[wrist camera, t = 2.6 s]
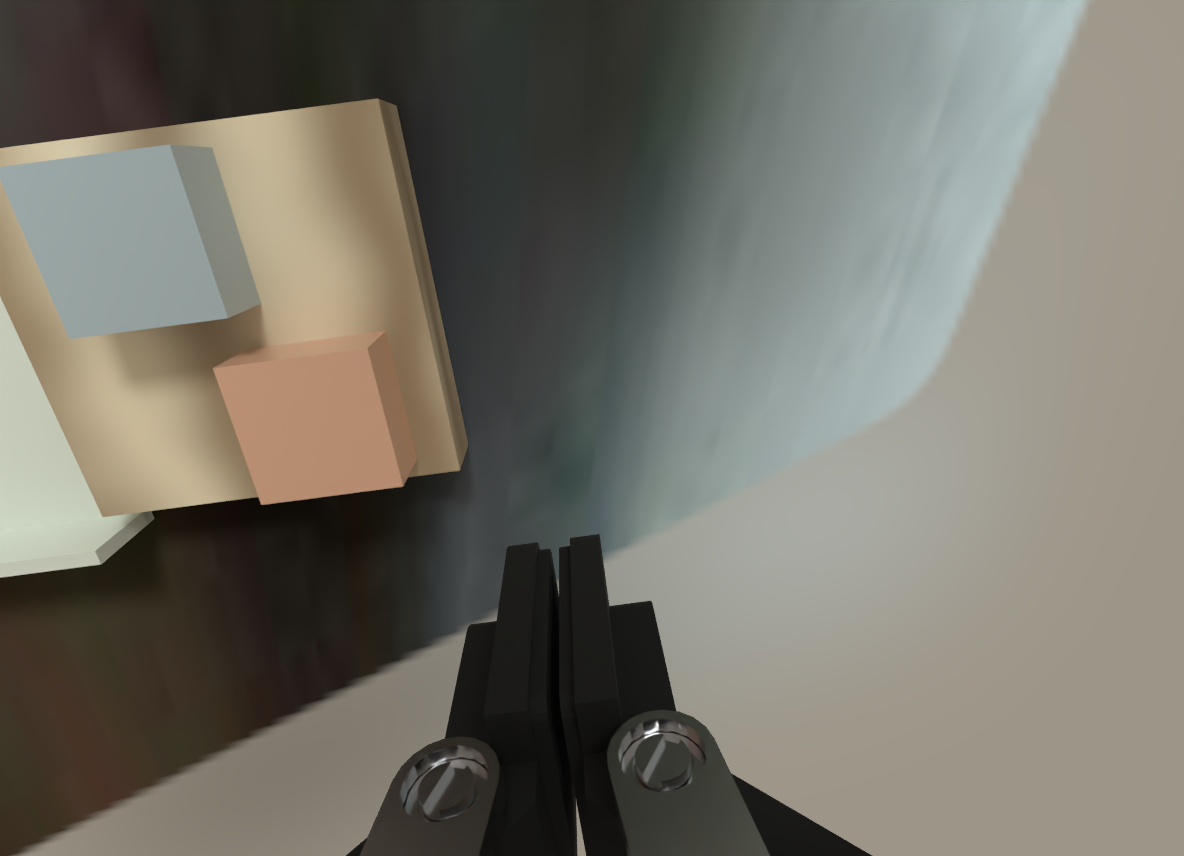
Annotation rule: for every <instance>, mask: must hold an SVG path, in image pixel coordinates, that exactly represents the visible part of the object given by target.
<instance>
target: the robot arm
mask: <svg viewBox="0 0 1184 856" xmlns="http://www.w3.org/2000/svg"><path fill="white" fill-rule="evenodd" d="M576 801H577V807H578V812H579V818H580V823H581V828H582V834H583V840H584V845H585V851H586V856H872V855H870V854H868V853H866V852H865V851H863V850H861V849H860V848H858V847H856V846H854V845H853V844H851V843H849V842H848V841H846V840H844V839H842V838H841V837H839V836H837V835H836V834H834V833H832V832H830V831H829V830H827V829H825V828H824V827H822V826H820V825H819V824H817V823H815V822H813V821H812V820H810V819H808V818H807V817H805V816H803V815H801V814H800V813H798V812H796V811H795V810H793V809H791V808H789V807H787V806H786V805H784V804H783V803H780V802H779V801H777V800H776V799H774V798H772V797H771V796H769V795H767V794H765V793H764V792H762V791H760V790H759V789H757V788H755V787H754V786H752V785H750V784H748V783H747V782H745V781H743V780H742V779H740V778H738V777H736V776H735V775H733V774H731V773H730V770H729V769H728V766H727V764H726V762H725V760H724V758H723V756H722V754H721V752H720V749H719V748H718V745H717V743H716V741H715V739H714V737H713V736H712V735H711V734H710V732H709V730H708V729H707V728H706V727H705V726H704V725H703V724H702V723H700V722H699V721H698V720H696V719H695V718H694V717H691V716H689V715H686V714H684V713H681V712H677V711H676V708H675V704H674V699H673V695H672V690H671V686H670V681H669V677H668V672H667V667H666V663H665V658H664V654H663V649H662V645H661V640H660V636H659V632H658V627H657V622H656V618H655V614H654V609H653V605H652V602H651V601H646V602H638V603H631V604H623V605H615V606H609V601H608V594H607V586H606V579H605V571H604V564H603V557H602V549H601V542H600V535H599V534H597V535H590V536H582V537H575V538H570V546H567V547H560V548H559V594H558V588H557V582H556V576H555V570H554V565H553V559H552V553H551V550H550V549H544V550H540V547H539V544H538V542H537V543H529V544H522V545H514V546H508V547H507V553H506V560H505V567H504V574H503V581H502V588H501V595H500V602H499V609H498V616H497V621H494V622H486V623H479V624H471V625H470V626H469V627H468V630H467V633H466V638H465V644H464V648H463V653H462V658H461V663H460V668H459V672H458V677H457V682H456V687H455V692H454V697H453V702H452V707H451V712H450V716H449V721H448V726H447V731H446V737H445V739H442V740H440V741H437V742H434V743H432V744H429V745H427V746H426V747H424V748H423V749H421V750H420V751H418V752H417V753H415V754H413V756H412V757H411V758H410V759H409V760H408V761H407V762H406V763H405V764H404V765H403V766H402V767H401V768H400V770H399V771H398V773H397V774H396V776H395V778H394V779H393V781H392V783H391V785H390V788H389V790H388V792H387V794H386V797H385V799H384V801H383V803H382V806H381V808H380V810H379V813H378V815H377V817H376V819H375V822H374V824H373V826H372V829H371V831H370V833H369V835H368V837H367V838H366V839H365V840H364V841H363V842H361V843H360V844H359V845H358V846H357V847H356V848H354V849H353V850H352V851H351V852H350V853H349V854H347V855H346V856H577V826H576Z"/></svg>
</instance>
